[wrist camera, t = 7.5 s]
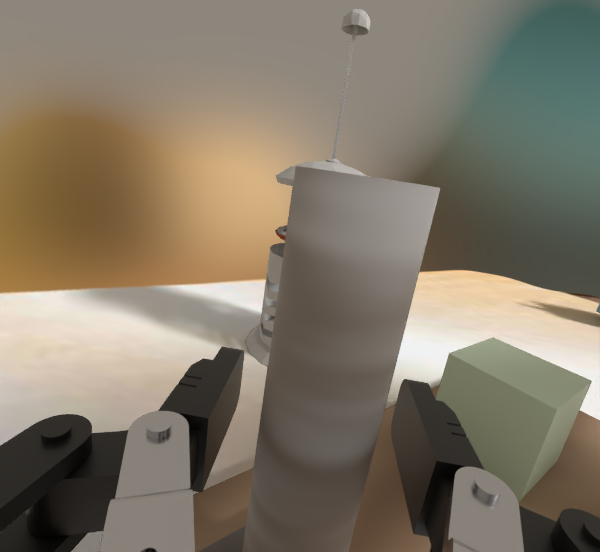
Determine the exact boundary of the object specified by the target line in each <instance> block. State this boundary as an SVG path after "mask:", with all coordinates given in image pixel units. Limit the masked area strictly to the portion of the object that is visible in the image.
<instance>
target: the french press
mask: <svg viewBox="0 0 600 552" xmlns="http://www.w3.org/2000/svg"><path fill="white" fill-rule="evenodd" d="M369 28H370V19H369V17H368V15H367V13H366V12H364V11H363V10H361V9H353V10H351V11H350V12H349V13H348V14H347V15H345V16H344V18H343V24H342V30H343V31H344V32H345V33H348V34H351V35H353V36H352V42H351V48H350V55H349V60H348V67H347V72H346V78H345V84H344V91H343V97H342V103H341V109H340V115H339V121H338V127H337V133H336V139H335V145H334V151H333V158H332V159H328V160H326V162H325V161H319V162H306V163H302V164H299V165H295V166H301V167H308V168H315V169H322V170H328V171H335V172H342V173H348V174H355V175H362V176H366V175H364V174H363V173H361V172H359V171H358V170H356V169H353V168H351V167H348V166H345V165H342V164H341V163H340V162H339V161H338V160H337V159H335V156H336V149H337V145H338V138H339V132H340V126H341V120H342V115H343V108H344V103H345V97H346V91H347V84H348V79H349V73H350V66H351V61H352V55H353V49H354V42H355V37H356V35H365V34H367V33H368V32H369ZM295 166H292V167H290V168H288V169H286V170H284V171H283V172H281V173H280V174H278V175H276V178H277V181H278V182H279V183H281V184H286V185H291V186H293V181H294V174H295ZM275 231H276V233H277V235H278V236H279V237H280V238H281V239H282V240H284V241H285V239H286V231H287V225H286V226H283V227H279V228H278V229H277V230H275ZM284 246H285V243H279V244H275V245H272V246H271V247H270V254H269V261H268V270H267V277H266V284H265V292H264V300H263V307H262V315H261V323H260V325H259V326H258V327H256V328H255V329H253V330H252V331H251V332H250V334H249V335H248V337H247V339H246V344H247V348H248V351H249V353H251V354H252V355H253V356H254V357H255V358H256V359H257V360H258V361H259V362H260V363H262V364H264V365H266V366H268V361H269V354H270V347H271V340H272V332H273V325H274V318H275V311H276V304H277V296H278V289H279V282H280V275H281V268H282V260H283V253H284Z"/></svg>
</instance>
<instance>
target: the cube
mask: <svg viewBox="0 0 600 552" xmlns="http://www.w3.org/2000/svg"><path fill="white" fill-rule="evenodd" d="M591 382H592V381H591V380H588V379H586V378H584V377H582V376H579V375H577V374H575V373H573V372H570V371H568V370H566V369H563V368H561V367H559V366H557V365H554V364H552V363H550V362H548V361H545V360H543V359H541V358H538V357H536V356H534V355H532V354H529V353H527V352H525V351H523V350H520V349H518V348H516V347H513V346H511V345H509V344H507V343H504V342H502V341H500V340H498V339H495V338H491V339H488V340H485V341H482V342H479V343H477V344H474V345H471V346H468V347H466V348H463V349H460V350H457V351H454V352H452V353H449V356H448V359H447V363H446V366H445V369H444V373H443V376H442V379H441V383H440V386H439V389H438V393H437V396H436V400H438V401H443V402H444V403H445V404H446V405H447V406H448V407H449V408H450V409H451V410H453V411H454V412H455V414H456V416H457V418H458V420H459V422H460V423H461V427H463V429H464V431H465V433H466V437H467V438H468V439H469V441H470V443H471V445H472V447H473V448H474V450H475V452H476V454H477V456H478V458H479V460H480V462H481V464H482V466H483V468H484V470H485V471H487V472H490V473H491V474H493V475H495V476H496V477H498V478H499V479H501V480H502V481H503V482H504V483H505V484H506V485H507V486H508V487H509V488H510V489H511V490H512V491H513V493H514V494H515V496H516V498H517V500H518V501H519V502H520V501H521V500H522V498H523V497H524V496H525V495H526V494H527V493H528V492H529V491H530V490H531V489H532V488H533V487H534V485H535V484H536V483H537V482H538V481H539V480H540V479H541V478H542V477H543V476H544V475H545V474H546V473H547V471H548V470H549V469H550V468H551V467H552V466H553V465H554V464H555V463H556V462H557V460H558V458H559V456H560V454H561V451H562V449H563V447H564V444H565V442H566V440H567V437H568V435H569V433H570V430H571V428H572V426H573V424H574V421H575V419H576V417H577V414H578V412H579V410H580V407H581V405H582V403H583V400H584V398H585V396H586V394H587V391H588V389H589V387H590V384H591Z"/></svg>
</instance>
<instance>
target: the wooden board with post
mask: <svg viewBox="0 0 600 552" xmlns="http://www.w3.org/2000/svg"><path fill="white" fill-rule="evenodd" d="M439 191H440V188H437V187H431V186H425V185H419V184H412V183H407V182H400V181H393V180H387V179H380V178H374V177H368V176H362V175H355V174H348V173H342V172H335V171H328V170H322V169H315V168H308V167H301V166H295V174H294V181H293V188H292V195H291V203H290V211H289V217H288V225H287V231H286V239H285V246H284V253H283V260H282V268H281V275H280V282H279V289H278V296H277V304H276V311H275V318H274V325H273V332H272V340H271V347H270V354H269V361H268V369H267V376H266V383H265V390H264V397H263V405H262V412H261V419H260V426H259V434H258V441H257V448H256V455H255V462H254V468H253V469H250V470H248V471H246V472H244V473H241V474H239V475H237V476H235V477H233V478H230V479H228V480H226V481H224V482H221V483H219V484H217V485H215V486H212V487H210V488H208V489H206V490H203V491H202V493H201V492H199V493H197V494H195V495H193V510H194V541H195V552H429V550H430V547H431V543H430V540H429V537H426V536H421V535H416V534H413V530H412V526H411V521H410V517H409V513H408V508H407V504H406V499H405V495H404V491H403V486H402V482H401V478H400V473H399V469H398V465H397V460H396V456H395V452H394V447H393V443H392V438H391V424H392V418H393V414H394V410H395V406H396V405H393V406H391V407H389V408H387V409H385V405H386V401H387V397H388V393H389V389H390V385H391V381H392V377H393V373H394V370H395V366H396V362H397V358H398V354H399V350H400V346H401V342H402V338H403V334H404V330H405V326H406V322H407V318H408V314H409V310H410V306H411V302H412V298H413V294H414V290H415V286H416V282H417V278H418V274H419V270H420V266H421V262H422V259H423V255H424V251H425V247H426V243H427V239H428V235H429V231H430V227H431V223H432V218H433V215H434V210H435V207H436V203H437V199H438V195H439ZM439 386H440V385H438V386H436V387H434V388H431V390H432V392H433V395H434V397H435V399H436V396H437V393H438V389H439ZM518 503H519V505H520V506H522V507H524V508H526V509H528V510H530V511H533V512H535V513H537V514H540V515H542V516H544V517H547V518H549V519H551V520H554V521H556V522H557V520H558V518H559V515H560V513H561V512H562V511H563V510H565V509H570V508H572V509H579V510H582V511H585V512H588V513H590V514H593V515H595V516H597V517H598V518H600V420H598V419H596V418H594V417H592V416H590V415H588V414H586V413H584V412H582V411H580V410H579V412H578V414H577V417H576V419H575V421H574V424H573V426H572V428H571V430H570V433H569V435H568V437H567V440H566V442H565V444H564V447H563V449H562V451H561V454H560V456H559V458H558V460H557V462H556V463H555V464H554V465H553V466H552V467H551V468H550V469H549V470H548V471H547V473H546V474H545V475H544V476H543V477H542V478H541V479H540V480H539V481H538V482H537V483H536V484H535V485H534V487H533V488H532V489H531V490H530V491H529V492H528V493H527V494H526V495H525V496H524V497H523V498H522V500H521V501H520V502H519V501H518Z"/></svg>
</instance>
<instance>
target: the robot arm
mask: <svg viewBox="0 0 600 552" xmlns="http://www.w3.org/2000/svg"><path fill="white" fill-rule="evenodd" d="M243 361H244V351H243V350H238V349H232V348H227V347H221V349H220V350H219V352H218V354H217V355H216V357H215V358H214V360H209V359H202V360H200V361H198V362H196V363H195V364H193V365H191V367H190V368H189V369H188V371H187V372H186V373H185V375H184V377H182V379H181V380H180V382H179V384H178V385H177V386H176V387H175V388H174V390H173V391H172V393H171V394H170V395H169V397H168V398H167V399H166V401H165V402H164V404H163V405H162V406H161V408H160V409H159V410H158V411H156V412H152V413H148V414H146V415H143V416H141V417H140V418H138V419H137V420H136V421H134V422H133V424H132V425H131V426H130V428H129V430H126V431H119V432H104V433H92V425H91V423H90V421H89V420H88V419H86V418H85V417H83V416H79V415H74V414H65V415H58V416H53V417H50V418H47V419H44V420H42V421H39V422H37V423H36V424H34V425H32V426H31V427H29V428H28V429H26V430H24V431H23V432H21V433H20V434H18V435H17V436H15V437H13V438H12V439H10V440H9V441H7V442H6V443H4V444H3V445H1V446H0V552H71V551H72V550H73V549H74V548H75V546H76V545H77V544H78V543H79V542H80V541H81V540H82V539H83V538H84V537H85V535H86V534H87V533H89V532H96V531H103V536H102V540H101V545H100V550H99V552H195V541H194V510H193V491H196V492H201V493H202V491H203V489H204V486H205V484H206V481H207V479H208V476H209V474H210V471H211V469H212V467H213V464H214V462H215V459H216V457H217V454H218V452H219V449H220V447H221V444H222V442H223V439H224V437H225V434H226V432H227V429H228V427H229V425H230V422H231V420H232V417H233V415H234V412H235V410H236V407H237V403H238V399H239V394H240V386H241V378H242V369H243ZM391 438H392V443H393V447H394V452H395V456H396V460H397V465H398V469H399V473H400V478H401V482H402V486H403V491H404V495H405V499H406V504H407V508H408V513H409V517H410V521H411V526H412V530H413V534H416V535H421V536H426V537H429V540H430V543H431V547H430V550H429V552H600V518H598V517H597V516H595V515H593V514H590V513H588V512H585V511H582V510H579V509H572V508H570V509H565V510H563V511H562V512H561V513H560V515H559V518H558V520H557V522H556V521H554V520H551V519H549V518H547V517H544V516H542V515H540V514H537V513H535V512H533V511H530V510H528V509H526V508H524V507H522V506H520V505H519V503H518V500H517V498H516V496H515V494H514V493H513V491H512V490H511V489H510V488H509V487H508V486H507V485H506V484H505V483H504V482H503V481H502V480H501V479H499V478H498V477H496V476H495V475H493V474H491V473H490V472H487V471H485V470H484V468H483V466H482V464H481V462H480V460H479V458H478V456H477V454H476V452H475V450H474V448H473V447H472V445H471V443H470V441H469V439H468V438H467V437H466V433H465V431H464V429H463V427H461V423H460V422H459V420H458V418H457V416H456V414H455V412H454V411H453V410H451V409H450V408H449V407H448V406H447V405H446V404H445V403H444V402H443V401H438V400H436V399H435V397H434V395H433V392H432V390H431V388H430V386H429V384H428V383H424V382H418V381H413V380H407V379H404V380H403V382H402V384H401V387H400V391H399V395H398V399H397V403H396V406H395V410H394V414H393V418H392V424H391ZM20 515H21V516H20ZM19 516H20V517H19ZM13 521H14V522H13ZM12 522H13V523H12ZM6 527H7V528H6Z"/></svg>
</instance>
